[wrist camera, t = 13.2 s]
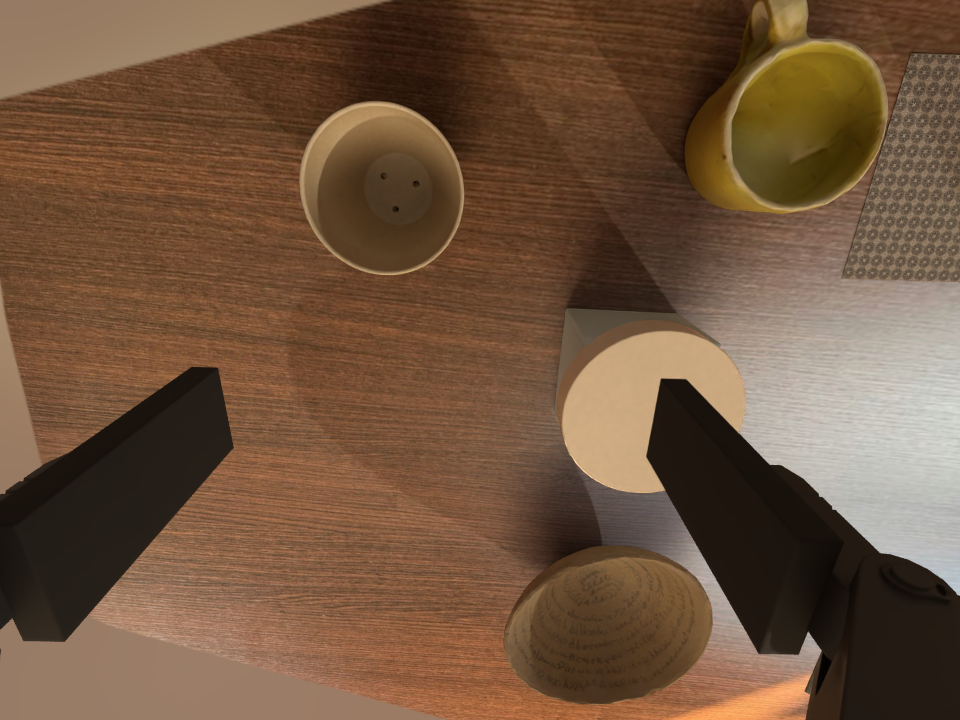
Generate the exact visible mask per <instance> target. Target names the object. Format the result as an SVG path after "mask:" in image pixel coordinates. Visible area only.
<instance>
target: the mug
mask: <svg viewBox="0 0 960 720" xmlns="http://www.w3.org/2000/svg"><path fill="white" fill-rule="evenodd" d="M808 15H809V14H808V6H807V0H756V1H755V2H754V3H753V6H752V10H751V12H750V15H749V17H748V19H747V24H746V28H745V31H744V35H743V39H742V49H741V53H740V59H739V62H738V64H737V66H736V68H735V69H734V71H733V72H732V73H731V75H730V76H729V78H728V79H727V80H726V82H725V83H724V84H723V85H722V86H721V87H720V88H719V89H718V90H717V91H716V92H715V93H714V94H713V95H712V96H710V98H709V99H708V100H707V101H706V102H705V103H704V105H703V106H702V107H701V109H700V110H699V111H698V113H697V114H696V116H695V117H694V119H693V121H692V123H691V125H690V127H689V130H688V133H687V136H686V141H685V166H686V170H687V174H688V177H689V180H690V182H691V184H692V186H693V187H694V188H695V190H696V191H697V192H698V193H699V194H700V195H701V196H702V197H703V198H704V199H706V200H707V201H709V202H710V203H712V204H714V205H715V206H718V207H721V208H725V209H729V210H750V211H754V212H771V213H778V214H781V213H791V212H796V211H802V210H808V209H812V208H815V207H818V206H822V205H826V204H828V203H829V202H831V201H833V200H834V199H836V198H837V197H839V196H840V195H841V194H844V193H845V192H847V191H848V190H850V189H851V188H852V187H853V186H855V184H856V183H857V182H858V181H859V180H860V179H861V178H862V177H863V175H864V174H865V173H866V171H867V170H868V168H869V167H870V165H871V164H872V162H873V161H874V159H875V157H876V155H877V153H878V151H879V149H880V146H881V143H882V140H883V137H884V134H885V130H886V122H887V117H888V99H887V93H886V88H885V84H884V81H883V78H882V75H881V72H880V70H879V68H878V66H877V65H876V63H875V62H874V60H873V59H872V58H871V57H870V56H869V55H867V54H866V53H865V52H864V51H863V50H862V49H860V48H859V47H858V46H856V45H854V44H852V43H850V42H847V41H844V40H841V39H831V38H830V39H812V38H809V37H808V35H807V31H806V30H807V20H808Z"/></svg>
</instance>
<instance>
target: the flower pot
mask: <svg viewBox="0 0 960 720" xmlns="http://www.w3.org/2000/svg"><path fill="white" fill-rule="evenodd" d="M381 176H384V179H383V178H382V177H381ZM415 181H417V183H416V184H414V182H415ZM299 184H300V195H301V201H302V205H303V208H304V212H305V214H306V217H307V219H308V221H309V223H310V225H311V227H312V229H313V231H314V233H315V234H316V235H317V237H318V238H319V240H320V241H321V242H322V243H323V244H324V246H325V247H326V248H327V249H328V250H329V251H330V252H332V253H333V254H334V255H335V256H336V257H338V258H339V259H340V260H342V261H343V262H345V263H347V264H348V265H350V266H352V267H354V268H357V269H359V270H362V271H365V272H368V273H373V274H380V275H397V274H403V273H408V272H411V271H414V270H417V269H419V268H421V267H423V266H425V265H426V264H428V263H430V262H431V261H433V260H434V259H435V258H436V257H437V256H438V255H439V254H440V253H442V251H443V250H444V249H445V248H446V247H447V245H448V244H449V243H450V241H451V240H452V238H453V236H454V234H455V232H456V230H457V228H458V226H459V223H460V220H461V216H462V211H463V205H464V184H463V177H462V173H461V169H460V166H459V162H458V160H457V157H456V155H455V153H454V151H453V149H452V147H451V146H450V144H449V143H448V141H447V140H446V138H445V137H444V136H443V134H442V133H441V132H440V131H439V130H438V129H437V128H436V127H435V126H434V125H433V124H432V123H431V122H430V121H429V120H427V119H426V118H425V117H423V116H422V115H421V114H419V113H417V112H415V111H413V110H412V109H410V108H407V107H405V106H402V105H399V104H395V103H390V102H384V101H366V102H360V103H356V104H352V105H349V106H347V107H345V108H343V109H341V110H339V111H337V112H335V113H334V114H332V115H331V116H330V117H328V118H327V119H326V120H325V121H324V122H323V123H322V124H321V125H320V126H319V127H318V128H317V130H316V131H315V132H314V134H313V135H312V137H311V138H310V140H309V142H308V144H307V146H306V149H305V152H304V155H303V158H302V162H301V167H300V177H299ZM396 207H398V211H396Z"/></svg>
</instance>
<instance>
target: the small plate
mask: <svg viewBox="0 0 960 720" xmlns="http://www.w3.org/2000/svg"><path fill="white" fill-rule="evenodd" d="M661 378H668V379H687V380H688V381H689V382H690V383H691V384H692V385H693V386H694V387H695V388H696V389H697V390H698V392H699V393H700V394H701V395H702V396H703V397H704V398H705V399H706V400H707V401H708V402H709V403H710V404H711V405H712V406H713V407H714V408H715V409H716V410H717V411H718V412H719V413H720V414H721V415H722V416H723V417H724V418H725V419H726V420H727V421H728V422H729V424H730V425H731V426H732V427H733V428H734V429H735V430H736V431H737V432H738V433H739V432H740V429H741V426H742V423H743V420H744V415H745V408H746V395H745V387H744V384H743V380H742V377H741V375H740V372H739V370H738V368H737V367H736V365H735V364H734V362H733V360H732V359H731V358H730V357H729V356H728V355H727V354H726V353H725V352H724V351H723V350H722V349H721V348H719V347H718V346H717V345H716V344H714V343H713V342H711V341H710V340H709V339H707V338H706V337H705V336H703V335H702V334H700V333H699V332H697V331H695V330H693V329H692V328H690V327H687V326H685V325H682V324H679V323H675V322H671V321H664V320H643V321H636V322H631V323H627V324H623V325H621V326H618V327H615V328H613V329H611V330H609V331H607V332H605V333H603V334H601V335H600V336H598V337H597V338H595V339H594V340H592V341H591V342H590V343H589V344H587V345H586V346H585V347H584V348H583V349H582V350H581V351H580V352H579V353H578V354H577V356H576V357H575V358H574V359H573V361H572V362H571V364H570V365H569V367H568V368H567V370H566V372H565V374H564V376H563V378H562V381H561V384H560V387H559V391H558V396H557V416H558V421H559V425H560V429H561V432H562V435H563V438H564V441H565V444H566V447H567V449H568V451H569V453H570V455H571V457H572V458H573V460H574V462H575V463H576V464H577V465H578V466H579V467H580V469H581V470H582V471H584V472H585V473H586V474H587V475H588V476H590V477H591V478H593V479H594V480H596V481H597V482H599V483H601V484H603V485H605V486H607V487H610V488H613V489H616V490H621V491H625V492H633V493H652V492H660V491H664V490H665V489H664V487H663V486H662V484H661V482H660V480H659V479H658V477H657V475H656V473H655V472H654V470H653V468H652V466H651V465H650V463H649V461H648V459H647V458H646V454H647V449H648V444H649V438H650V433H651V428H652V422H653V417H654V412H655V406H656V401H657V396H658V390H659V385H660V380H661Z"/></svg>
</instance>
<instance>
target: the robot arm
mask: <svg viewBox="0 0 960 720" xmlns="http://www.w3.org/2000/svg"><path fill="white" fill-rule="evenodd" d="M233 448H234V447H233V442H232V437H231V432H230V427H229V422H228V417H227V411H226V406H225V401H224V396H223V391H222V386H221V381H220V376H219V371H218V368H212V367H191V368H190V369H188V370H187V371H185V372H184V373H182V374H181V375H180V376H178V377H177V378H175V379H174V380H172V381H171V382H170V383H168V384H167V385H165V386H164V387H162V388H161V389H160V390H158V391H157V392H155V393H154V394H152V395H151V396H150V397H148V398H147V399H145V400H144V401H143V402H141V403H140V404H138V405H137V406H135V407H134V408H133V409H131V410H130V411H128V412H127V413H125V414H124V415H123V416H121V417H120V418H118V419H117V420H115V421H114V422H113V423H111V424H110V425H108V426H107V427H105V428H104V429H103V430H101V431H100V432H98V433H97V434H95V435H94V436H93V437H91V438H90V439H88V440H87V441H85V442H84V443H83V444H81V445H80V446H78V447H77V448H75V449H74V450H73V451H71V452H69V453H67V454H65V455H63V456H61V457H59V458H56V459H54V460H52V461H50V462H48V463H45V464H44V465H42V466H41V467H40V468H38V469H37V470H35V471H34V472H32V473H31V474H29V475H28V476H27V477H25V478H24V481H19V482H18V483H16V484H15V485H13V486H12V487H10V488H9V489H8V490H6V493H5V494H0V629H1V628H3V626H5V625H6V624H7V623H8V622H9V621H10V620H11V619H12V618H13V620H14V622H15V624H16V626H17V629H18V631H19V633H20V635H21V637H22V639H23V641H54V642H57V641H58V642H65V641H66V640H67V638H68V637H69V636H70V635H71V634H72V633H73V632H74V630H75V629H76V628H77V627H78V626H79V625H80V624H81V622H82V621H83V620H84V619H85V618H86V617H87V616H88V614H89V613H90V612H91V611H92V610H93V609H94V607H95V606H96V605H97V604H98V603H99V602H100V601H101V599H102V598H103V597H104V596H105V595H106V594H107V593H108V591H109V590H110V589H111V588H112V587H113V586H114V585H115V583H116V582H117V581H118V580H119V579H120V578H121V576H122V575H123V574H124V573H125V572H126V571H127V570H128V568H129V567H130V566H131V565H132V564H133V563H134V562H135V560H136V559H137V558H138V557H139V556H140V555H141V553H142V552H143V551H144V550H145V549H146V548H147V547H148V545H149V544H150V543H151V542H152V541H153V540H154V539H155V537H156V536H157V535H158V534H159V533H160V532H161V531H162V529H163V528H164V527H165V526H166V525H167V524H168V522H169V521H170V520H171V519H172V518H173V517H174V516H175V514H176V513H177V512H178V511H179V510H180V509H181V508H182V506H183V505H184V504H185V503H186V502H187V501H188V499H189V498H190V497H191V496H192V495H193V494H194V493H195V491H196V490H197V489H198V488H199V487H200V486H201V485H202V483H203V482H204V481H205V480H206V479H207V478H208V477H209V475H210V474H211V473H212V472H213V471H214V470H215V468H216V467H217V466H218V465H219V464H220V463H221V462H222V460H223V459H224V458H225V457H226V456H227V455H228V454H229V452H230V451H231V450H232V449H233ZM646 458H647V459H648V461H649V463H650V465H651V466H652V468H653V470H654V472H655V473H656V475H657V477H658V479H659V480H660V482H661V484H662V486H663V487H664V489H665V491H666V493H667V494H668V496H669V498H670V500H671V501H672V503H673V505H674V507H675V508H676V510H677V512H678V514H679V515H680V517H681V519H682V520H683V522H684V524H685V526H686V527H687V529H688V531H689V533H690V534H691V536H692V538H693V540H694V541H695V543H696V545H697V547H698V548H699V550H700V552H701V554H702V555H703V557H704V559H705V561H706V562H707V564H708V566H709V568H710V569H711V571H712V573H713V575H714V576H715V578H716V580H717V582H718V583H719V585H720V587H721V589H722V590H723V592H724V594H725V596H726V597H727V599H728V601H729V603H730V604H731V606H732V608H733V610H734V611H735V613H736V615H737V617H738V618H739V620H740V622H741V624H742V625H743V627H744V629H745V631H746V632H747V634H748V636H749V638H750V639H751V641H752V643H753V645H754V646H755V648H756V650H757V652H758V653H759V654H794V655H799V652H800V650H801V647H802V645H803V643H804V640H805V638H806V635H807V633H808V632H809V633H810V635H811V636H812V637H813V639H814V640H815V642H816V643H817V645H818V646H819V647H820V649H821V650H822V652H821V654H820V656H819V659H818V661H817V663H816V666H815V668H814V670H813V673H812V675H811V677H810V680H809V682H808V684H807V687H806V689H805V692H806V693H808V694H810V699H809V704H808V710H807V715H806V720H960V596H959V595H957V594H956V592H955V591H954V590H953V589H952V588H951V587H950V586H949V585H948V584H947V583H946V582H945V581H944V580H943V579H941V578H940V577H938V576H937V575H935V574H934V573H932V572H931V571H929V570H928V569H926V568H924V567H922V566H920V565H918V564H916V563H914V562H912V561H910V560H907V559H904V558H901V557H898V556H894V555H891V554H882V553H879V552H878V551H877V550H876V549H875V548H874V547H873V546H872V545H871V544H870V543H869V542H868V541H867V540H866V539H865V538H864V537H863V536H862V535H861V534H860V533H859V532H858V531H857V530H856V529H855V528H854V527H853V526H852V525H850V524H849V523H848V522H847V521H846V520H845V519H844V518H843V517H842V516H841V515H840V514H839V513H838V512H837V511H836V510H832V506H831V505H830V504H829V503H828V502H827V501H826V500H825V499H824V498H823V497H819V494H818V493H817V492H816V491H815V490H814V489H813V488H812V487H811V486H810V485H809V484H808V483H807V482H806V481H805V480H804V479H803V478H801V477H800V476H798V475H796V474H795V473H793V472H791V471H790V470H788V469H786V468H785V467H783V466H781V465H769V464H768V463H767V462H766V461H765V460H764V459H763V458H762V457H761V456H760V454H759V453H758V452H757V451H756V450H755V449H754V448H753V447H752V446H751V445H750V444H749V443H748V442H747V441H746V440H745V439H744V438H743V437H742V436H741V435H740V434H739V433H738V432H737V431H736V430H735V429H734V428H733V427H732V426H731V425H730V424H729V422H728V421H727V420H726V419H725V418H724V417H723V416H722V415H721V414H720V413H719V412H718V411H717V410H716V409H715V408H714V407H713V406H712V405H711V404H710V403H709V402H708V401H707V400H706V399H705V398H704V397H703V396H702V395H701V394H700V393H699V392H698V390H697V389H696V388H695V387H694V386H693V385H692V384H691V383H690V382H689V381H688V380H687V379H668V378H661V380H660V385H659V390H658V396H657V401H656V406H655V412H654V417H653V422H652V428H651V433H650V438H649V444H648V449H647V454H646ZM0 653H1V650H0Z"/></svg>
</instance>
